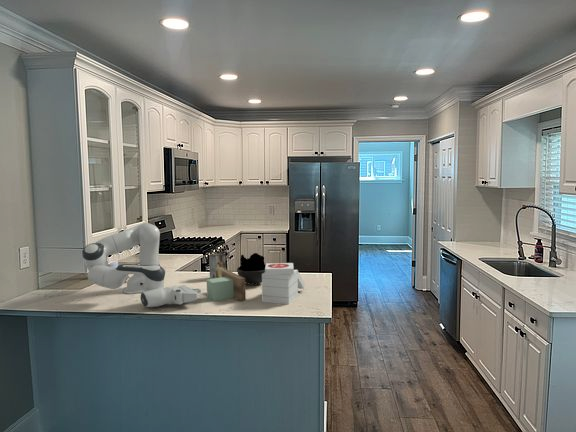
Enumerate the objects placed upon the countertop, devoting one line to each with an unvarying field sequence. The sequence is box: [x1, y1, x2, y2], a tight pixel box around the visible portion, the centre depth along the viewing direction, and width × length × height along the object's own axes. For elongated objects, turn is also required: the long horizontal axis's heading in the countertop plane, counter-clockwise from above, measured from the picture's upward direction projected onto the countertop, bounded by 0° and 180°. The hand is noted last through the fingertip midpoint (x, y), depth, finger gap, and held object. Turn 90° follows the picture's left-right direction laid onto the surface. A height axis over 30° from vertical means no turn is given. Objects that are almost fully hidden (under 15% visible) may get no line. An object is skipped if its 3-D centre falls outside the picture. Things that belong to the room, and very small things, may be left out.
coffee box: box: [208, 252, 227, 279], centre depth 282 cm, size 9×6×16 cm
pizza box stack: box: [261, 262, 306, 305], centre depth 238 cm, size 19×30×18 cm, turn 160°
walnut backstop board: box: [221, 269, 247, 302], centre depth 242 cm, size 3×26×12 cm, turn 30°
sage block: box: [206, 277, 234, 302], centre depth 238 cm, size 12×9×10 cm
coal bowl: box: [236, 252, 266, 286], centre depth 266 cm, size 20×20×19 cm
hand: (199, 290), depth 232 cm, fingers closed
